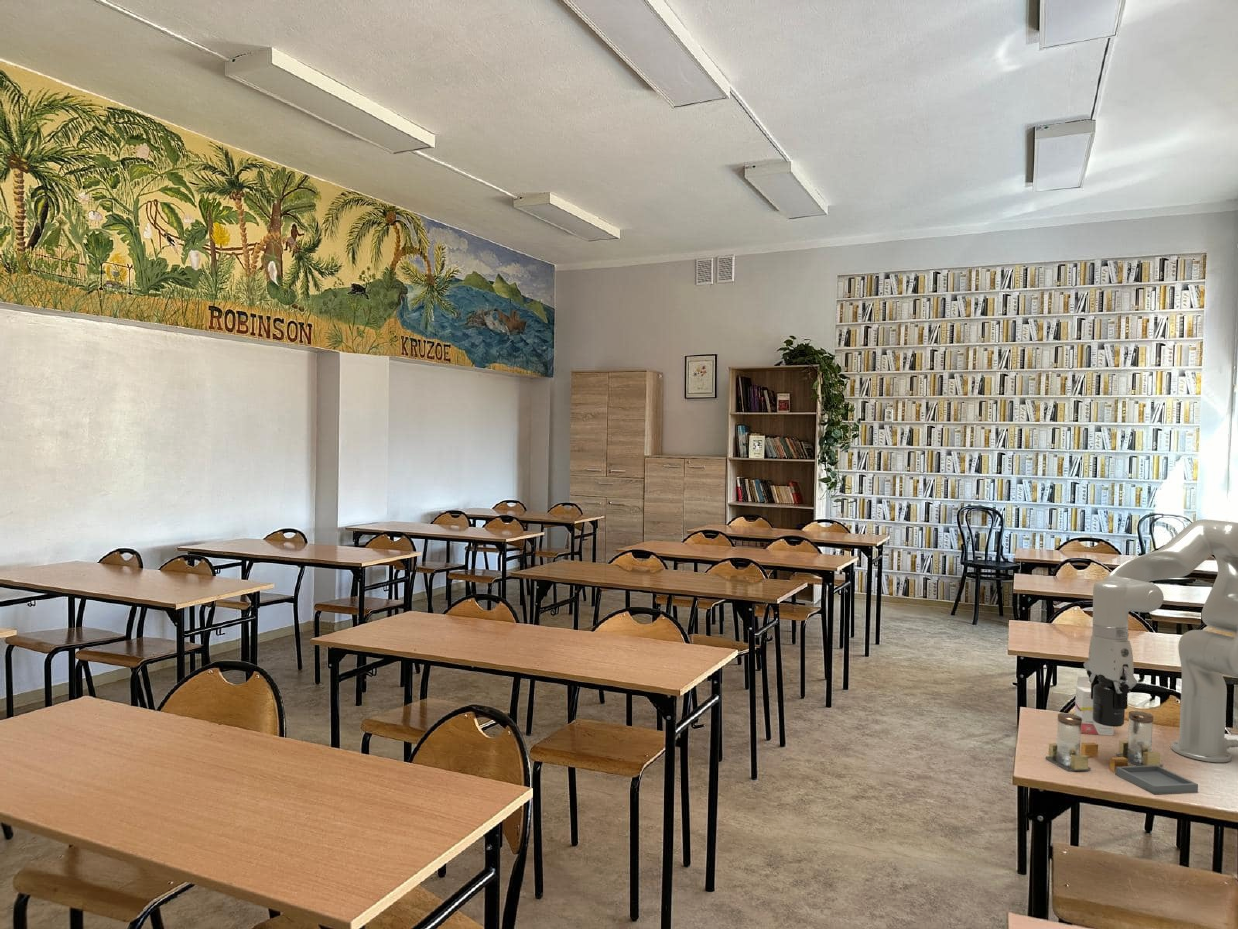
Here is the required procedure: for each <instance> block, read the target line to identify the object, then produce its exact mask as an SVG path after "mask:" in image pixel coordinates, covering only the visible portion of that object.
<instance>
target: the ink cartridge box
mask: <svg viewBox="0 0 1238 929" xmlns="http://www.w3.org/2000/svg"><path fill="white" fill-rule="evenodd" d="M1074 701H1075V702H1074V704H1075V705H1074V715H1077V716H1079V717H1081V718H1082V724H1081V734H1085V735H1086V734H1089V735H1099V736H1100V735H1101V736H1114V732H1115V727H1112V726H1105V725H1101V724H1098V723H1096V722H1095V721H1094V720H1093V718H1092V715H1093V714H1092V713H1093V699H1091V683H1090V682H1089V676H1084V675H1083V676H1082V675H1079V676H1077V681H1076V687H1075V699H1074Z"/></svg>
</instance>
